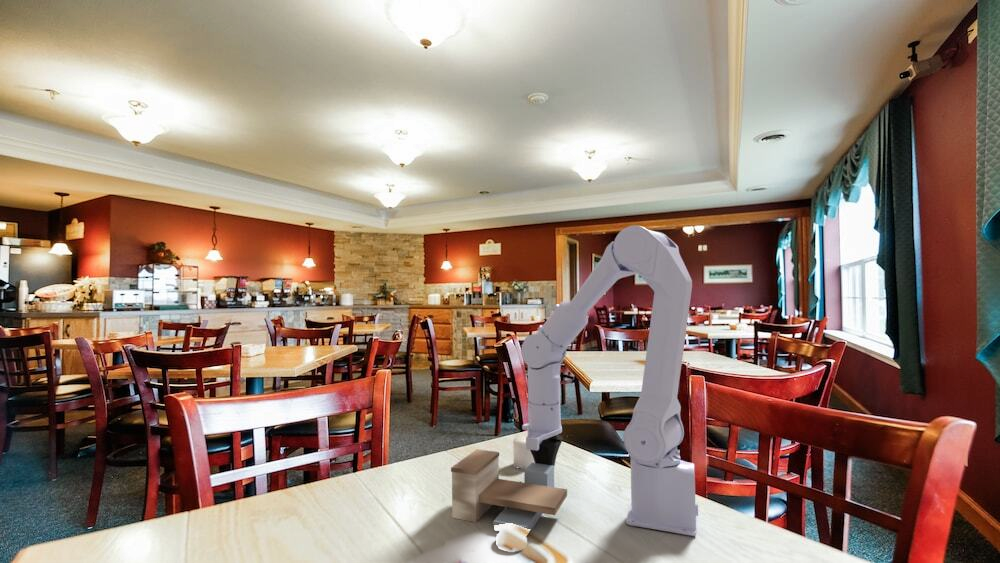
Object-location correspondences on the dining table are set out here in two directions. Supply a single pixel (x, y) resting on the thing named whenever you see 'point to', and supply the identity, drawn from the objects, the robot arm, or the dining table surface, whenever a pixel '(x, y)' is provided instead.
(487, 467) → the plinth shelf
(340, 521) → the dining table surface
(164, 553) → the dining table surface
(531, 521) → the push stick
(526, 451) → the white rounded cylinder
